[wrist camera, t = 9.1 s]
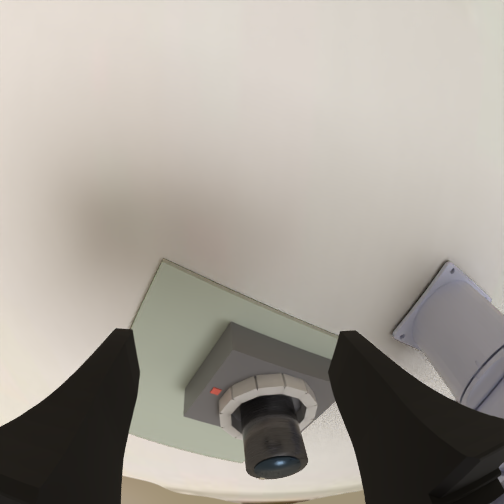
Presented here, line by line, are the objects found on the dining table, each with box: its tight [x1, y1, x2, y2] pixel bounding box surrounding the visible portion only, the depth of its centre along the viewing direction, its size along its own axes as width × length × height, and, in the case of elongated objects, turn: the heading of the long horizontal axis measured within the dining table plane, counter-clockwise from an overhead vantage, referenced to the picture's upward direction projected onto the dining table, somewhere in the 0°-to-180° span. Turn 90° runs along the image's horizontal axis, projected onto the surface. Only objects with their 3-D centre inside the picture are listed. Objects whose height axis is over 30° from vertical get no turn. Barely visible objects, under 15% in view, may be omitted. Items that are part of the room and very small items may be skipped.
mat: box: [129, 259, 339, 463], centre depth 25 cm, size 17×20×1 cm
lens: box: [240, 394, 308, 480], centre depth 19 cm, size 4×4×6 cm
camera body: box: [183, 322, 335, 440], centre depth 23 cm, size 10×8×4 cm
